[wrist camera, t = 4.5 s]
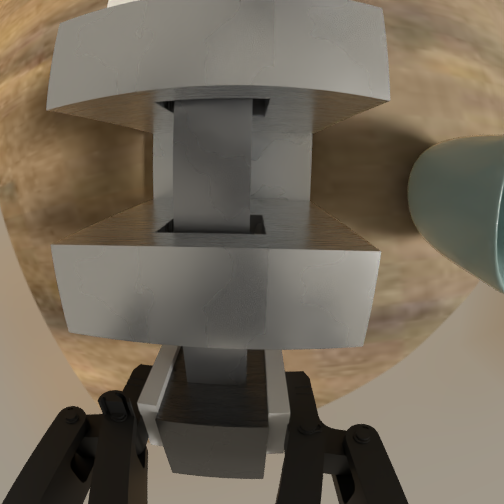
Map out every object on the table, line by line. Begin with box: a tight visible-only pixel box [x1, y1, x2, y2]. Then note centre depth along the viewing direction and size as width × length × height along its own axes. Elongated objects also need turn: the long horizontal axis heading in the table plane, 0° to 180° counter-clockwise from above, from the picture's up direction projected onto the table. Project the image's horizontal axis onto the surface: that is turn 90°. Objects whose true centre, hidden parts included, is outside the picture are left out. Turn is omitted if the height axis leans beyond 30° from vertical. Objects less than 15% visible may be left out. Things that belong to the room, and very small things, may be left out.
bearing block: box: [46, 0, 390, 350], centre depth 12 cm, size 11×9×11 cm
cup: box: [407, 135, 504, 294], centre depth 13 cm, size 8×8×10 cm
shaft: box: [155, 98, 269, 479], centre depth 10 cm, size 21×4×7 cm, turn 179°
